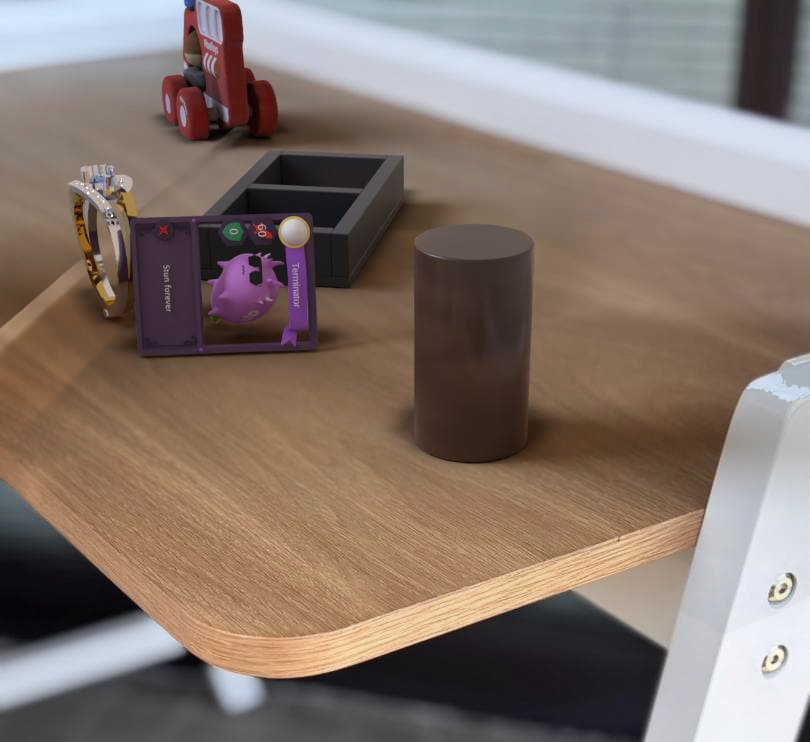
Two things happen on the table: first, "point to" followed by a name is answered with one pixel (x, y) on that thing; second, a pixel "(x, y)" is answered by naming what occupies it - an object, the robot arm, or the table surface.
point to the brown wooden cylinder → (472, 341)
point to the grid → (312, 210)
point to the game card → (219, 281)
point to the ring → (96, 196)
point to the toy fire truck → (217, 76)
